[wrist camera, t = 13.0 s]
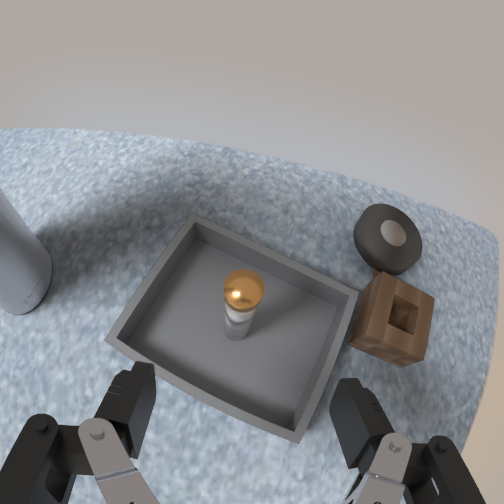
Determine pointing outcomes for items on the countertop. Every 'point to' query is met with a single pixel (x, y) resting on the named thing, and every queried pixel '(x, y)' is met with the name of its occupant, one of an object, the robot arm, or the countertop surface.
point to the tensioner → (390, 289)
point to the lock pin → (241, 302)
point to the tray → (257, 339)
